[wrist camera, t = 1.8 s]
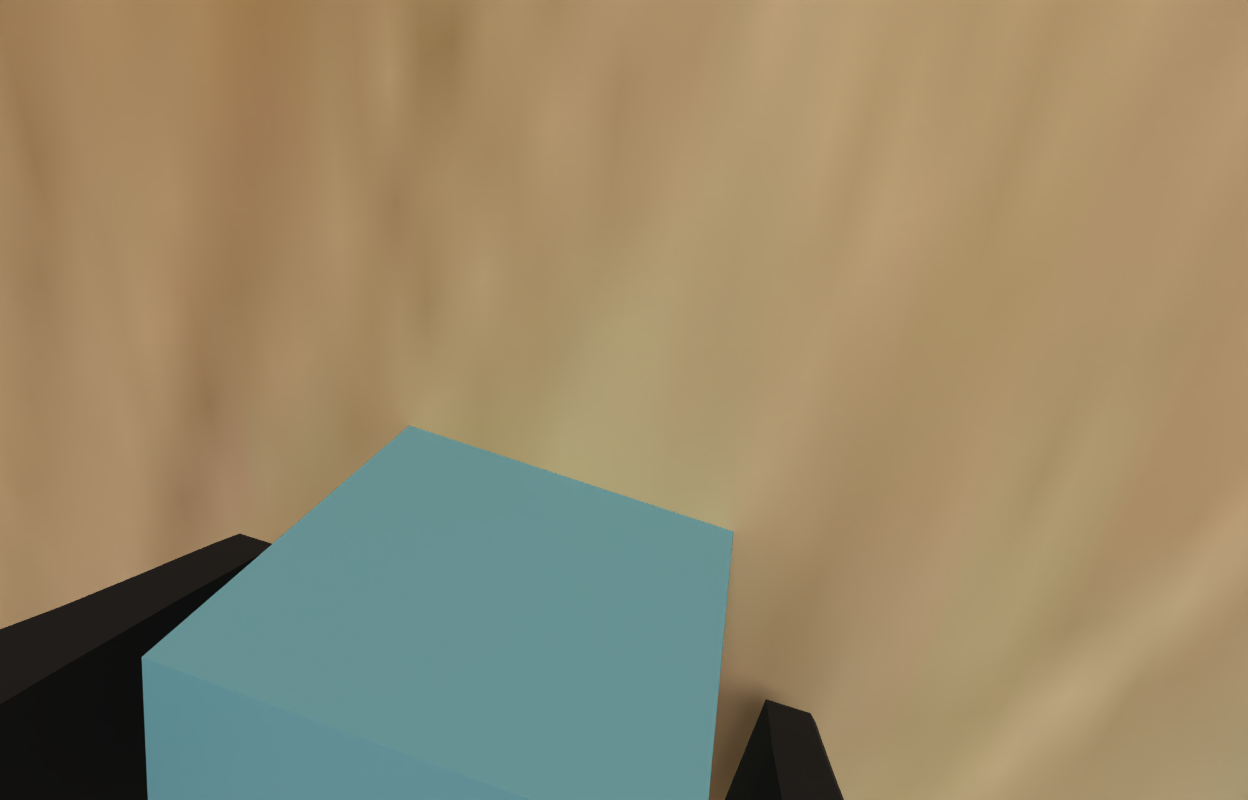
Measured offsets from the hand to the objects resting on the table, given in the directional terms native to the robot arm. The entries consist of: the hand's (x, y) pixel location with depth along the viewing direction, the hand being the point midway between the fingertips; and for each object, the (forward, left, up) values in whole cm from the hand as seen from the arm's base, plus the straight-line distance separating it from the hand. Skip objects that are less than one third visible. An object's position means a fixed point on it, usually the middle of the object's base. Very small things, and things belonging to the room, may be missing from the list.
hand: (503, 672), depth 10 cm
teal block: (0, 0, -2) cm, 2 cm away
